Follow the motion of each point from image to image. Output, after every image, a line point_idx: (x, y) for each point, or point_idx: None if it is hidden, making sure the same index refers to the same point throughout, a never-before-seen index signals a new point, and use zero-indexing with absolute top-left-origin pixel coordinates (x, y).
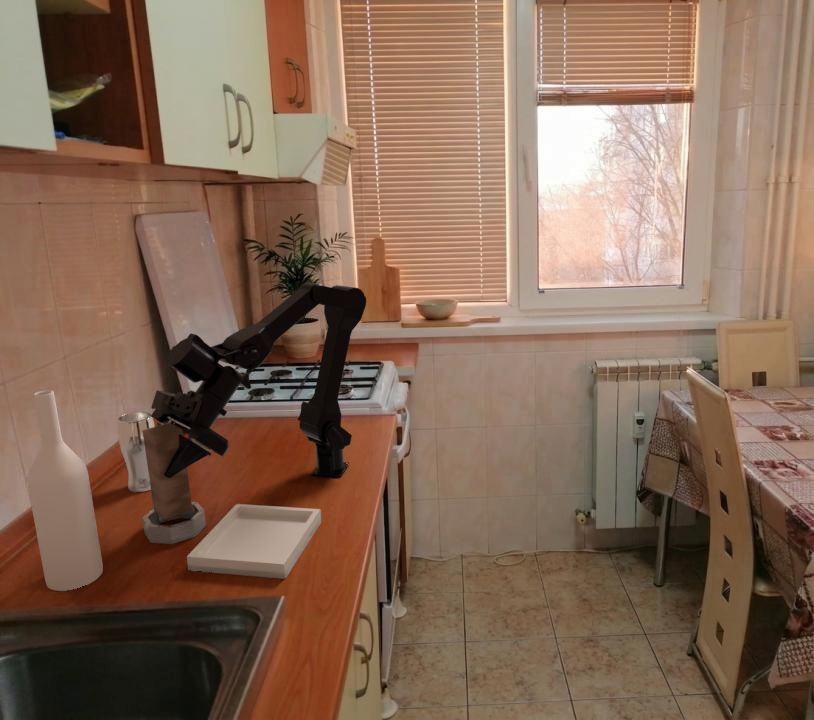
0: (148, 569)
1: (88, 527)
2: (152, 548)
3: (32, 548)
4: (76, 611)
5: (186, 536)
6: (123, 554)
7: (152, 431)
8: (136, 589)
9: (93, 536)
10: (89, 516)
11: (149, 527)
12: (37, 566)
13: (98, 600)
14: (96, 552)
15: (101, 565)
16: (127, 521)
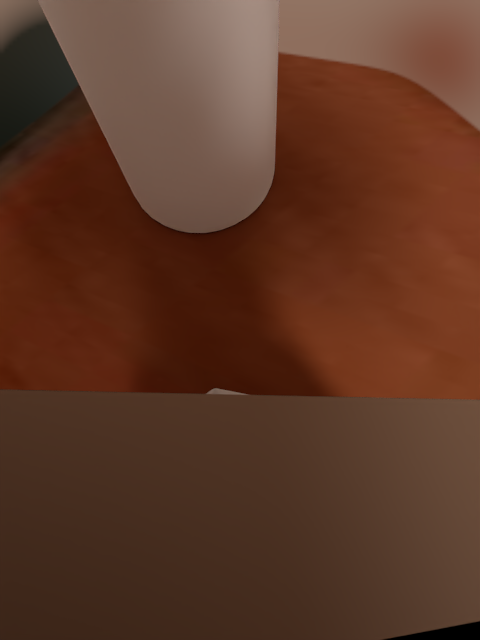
0: (68, 321)
1: (70, 66)
2: (177, 385)
3: (466, 135)
4: (44, 131)
5: None
6: (216, 304)
7: (144, 583)
8: (3, 257)
9: (99, 119)
10: (59, 38)
11: (210, 392)
12: (340, 121)
13: (43, 177)
14: (122, 165)
15: (154, 211)
16: None
